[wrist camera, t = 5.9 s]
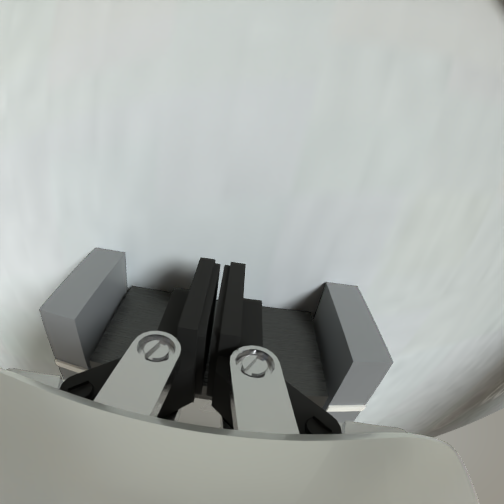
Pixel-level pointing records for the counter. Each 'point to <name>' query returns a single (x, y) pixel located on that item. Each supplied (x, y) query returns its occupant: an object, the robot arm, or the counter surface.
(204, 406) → the grey block with bar
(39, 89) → the counter surface
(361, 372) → the gauge housing
